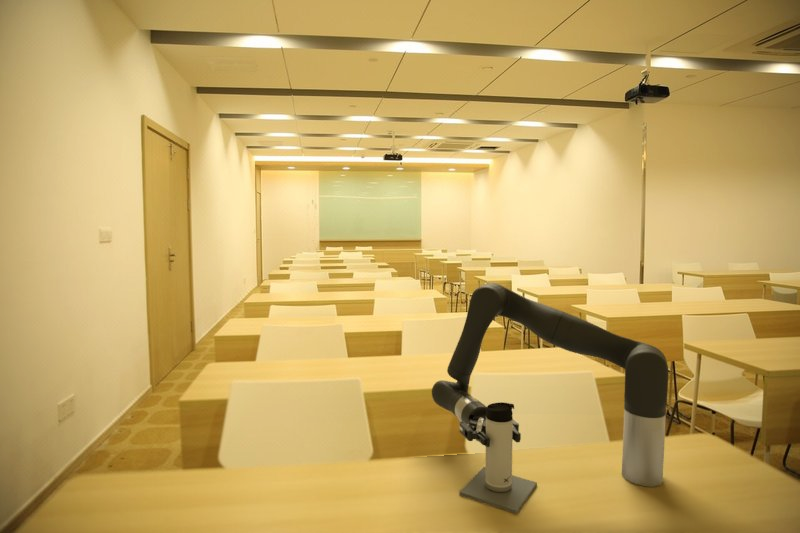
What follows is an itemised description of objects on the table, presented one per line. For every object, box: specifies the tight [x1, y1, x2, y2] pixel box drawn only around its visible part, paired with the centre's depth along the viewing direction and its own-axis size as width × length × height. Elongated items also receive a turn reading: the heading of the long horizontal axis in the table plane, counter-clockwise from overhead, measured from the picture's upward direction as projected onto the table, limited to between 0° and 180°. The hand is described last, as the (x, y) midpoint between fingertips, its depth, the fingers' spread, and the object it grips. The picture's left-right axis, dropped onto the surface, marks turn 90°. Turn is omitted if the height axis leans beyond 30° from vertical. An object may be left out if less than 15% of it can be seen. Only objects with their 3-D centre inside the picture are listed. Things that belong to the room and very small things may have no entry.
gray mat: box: [458, 466, 538, 515], centre depth 116 cm, size 14×14×1 cm
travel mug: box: [484, 401, 515, 492], centre depth 116 cm, size 6×7×20 cm
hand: (503, 440), depth 113 cm, fingers open, 7 cm apart
